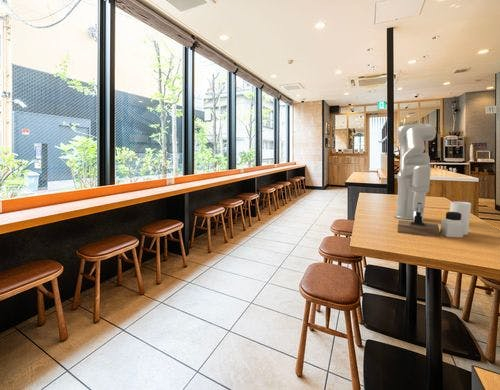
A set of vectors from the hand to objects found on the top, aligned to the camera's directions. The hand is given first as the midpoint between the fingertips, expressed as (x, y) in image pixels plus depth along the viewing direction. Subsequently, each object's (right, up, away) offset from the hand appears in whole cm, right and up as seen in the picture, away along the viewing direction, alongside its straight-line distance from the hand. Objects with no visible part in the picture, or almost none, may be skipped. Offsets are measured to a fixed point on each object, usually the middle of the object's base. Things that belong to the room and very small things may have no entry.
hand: (417, 222), depth 136 cm
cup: (+20, -5, -2) cm, 20 cm away
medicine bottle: (+12, -6, -7) cm, 15 cm away
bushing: (0, -3, 0) cm, 3 cm away
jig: (0, -5, +1) cm, 5 cm away
